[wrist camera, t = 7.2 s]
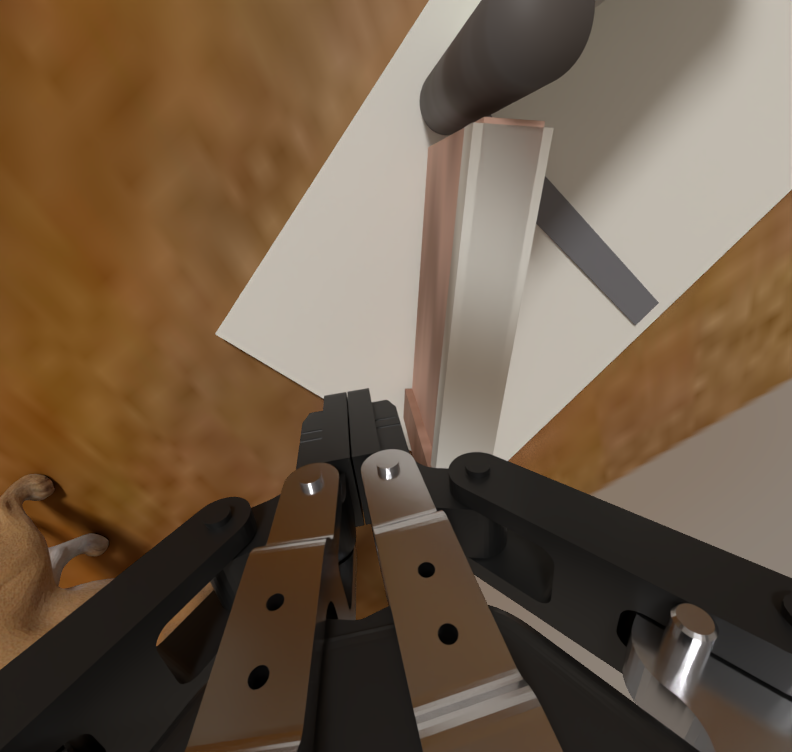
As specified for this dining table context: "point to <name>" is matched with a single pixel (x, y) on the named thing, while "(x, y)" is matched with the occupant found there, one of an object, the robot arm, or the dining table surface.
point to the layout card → (559, 205)
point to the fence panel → (472, 282)
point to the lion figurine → (44, 573)
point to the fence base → (504, 58)
